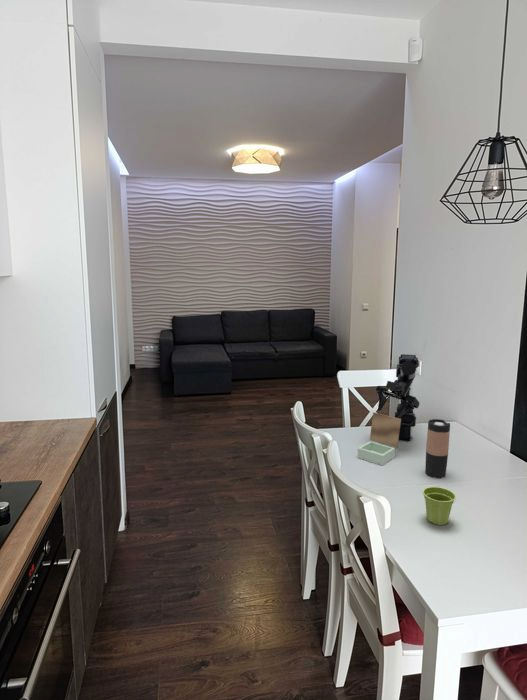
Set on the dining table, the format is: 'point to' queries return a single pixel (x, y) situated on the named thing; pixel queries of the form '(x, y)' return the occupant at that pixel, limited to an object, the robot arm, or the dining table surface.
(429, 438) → the travel mug
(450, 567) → the dining table surface
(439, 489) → the plant pot
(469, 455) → the dining table surface
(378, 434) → the lid
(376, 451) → the pale green open box
